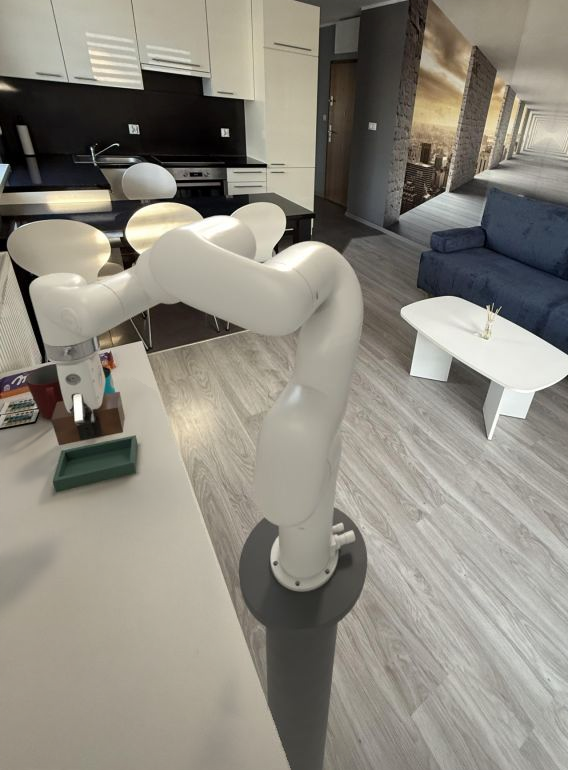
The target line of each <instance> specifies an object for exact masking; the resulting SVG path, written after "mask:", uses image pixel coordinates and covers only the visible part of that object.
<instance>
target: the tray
mask: <svg viewBox="0 0 568 770" xmlns="http://www.w3.org/2000/svg"><path fill="white" fill-rule="evenodd" d="M137 438H138V437H137V434H136V435H130V436H125V437H120V438H115V439H110V440H105V441H101V442H96V443H92V444H87V445H81V446H77V447H76V446H75V447H72V448H67V449H63V450H60V454H59V458H58V460H57V465H56V467H55V471H54V474H53V478H52V481H51V482H52V484H53V488H54V491H55V493H59V492H60V493H61V492H63V491H67V490H72V489H76V488H80V487H84V486H89V485H92V484H97V483H101V482H105V481H109V480H113V479H116V478H121V477H126V476H130V475H133V474H136V473H137V465H138V464H137V462H138V461H137V460H138V450H139V444H138V439H137Z"/></svg>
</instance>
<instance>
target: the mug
mask: <svg viewBox="0 0 568 770" xmlns="http://www.w3.org/2000/svg"><path fill="white" fill-rule="evenodd" d="M57 374H58V373H57V367H56V363H52V364H47V365H46V364H45V365H44V366H40V367H38V368H36V369H34V370H32V371H31V372H29V373H28V374H27V375H26V377H25V383H26V384H27V388H28V390H29V392H30V394H31V397H32V399H33V401H34V403H35V405H36V407H37V409H38V411H39V414H40V416H41V417H42V418H43V419H45V420H50V421H52V420H51V419H52V416H53V413H54V410H55V407H56V404H57V402H61V401H64V400H63V396H62V392H61V388H60V383H59V378H58V375H57Z"/></svg>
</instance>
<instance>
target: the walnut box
mask: <svg viewBox="0 0 568 770" xmlns="http://www.w3.org/2000/svg"><path fill="white" fill-rule="evenodd" d="M84 406H86V404H84ZM124 411H125V410H124V407H123V401H122V396H121V392H120V391H115V393H109V394H103V400H102V404H101V406H100V407H99V408H98V409H94V412H95V418H98V422H99V426H100V430H101V436H100V437H97V438H96V439H98V438H102V437H108V436H113V435H119V434H122V433H124V427H125V426H124V424H125V412H124ZM84 413H85V415H89V416H90V412H89V410H87V411H84ZM50 421H51V423H52V427H53V430H54V434H55V437H56V440H57V443H58V446H63V445H68V444H73V443H79V442H82V441H85V440H80V437H79V433H78V429H77V426H76V424H75V418H74V411H73V413H69V412H68V411H67V409H66V407H65V404H64V401H61V402H57V404H56V407H55V410H54V413H53V416H52V419H51V420H50ZM94 439H95V438H93V439H92V440H94ZM88 440H90V439H88ZM88 440H87V441H88Z"/></svg>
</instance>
